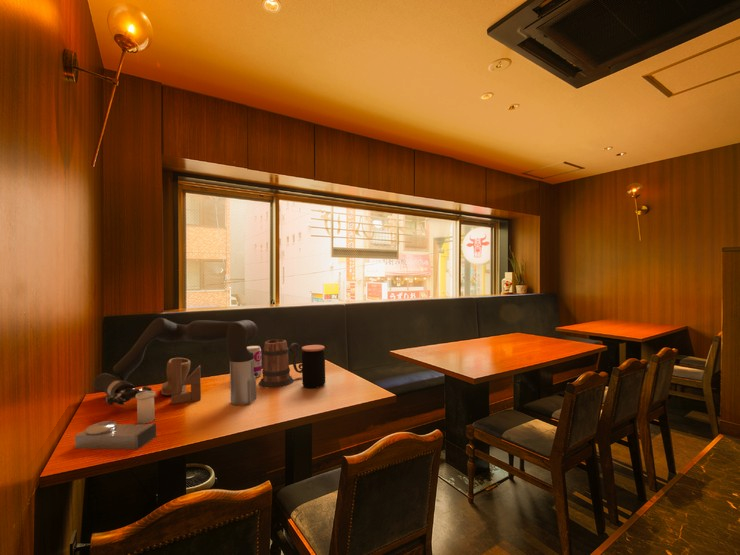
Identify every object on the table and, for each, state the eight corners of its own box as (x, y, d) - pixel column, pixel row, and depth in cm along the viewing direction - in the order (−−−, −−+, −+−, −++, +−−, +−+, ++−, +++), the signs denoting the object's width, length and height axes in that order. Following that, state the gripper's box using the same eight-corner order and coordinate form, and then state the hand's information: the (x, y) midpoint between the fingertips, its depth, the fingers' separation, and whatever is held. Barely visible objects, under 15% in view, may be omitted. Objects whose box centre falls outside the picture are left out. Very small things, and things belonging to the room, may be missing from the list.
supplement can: (265, 374, 184) (264, 346, 183) (253, 379, 176) (253, 349, 176) (253, 373, 187) (252, 345, 187) (241, 377, 179) (240, 348, 179)
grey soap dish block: (156, 436, 114) (155, 420, 114) (137, 449, 106) (137, 432, 106) (97, 436, 115) (97, 420, 115) (74, 448, 107) (74, 431, 107)
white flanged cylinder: (159, 417, 129) (159, 390, 129) (148, 424, 123) (147, 396, 123) (144, 417, 130) (143, 390, 130) (132, 424, 124) (131, 396, 124)
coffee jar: (330, 384, 166) (329, 346, 166) (315, 390, 157) (314, 350, 157) (312, 380, 172) (312, 343, 172) (297, 386, 163) (296, 348, 163)
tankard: (265, 390, 159) (264, 346, 158) (253, 381, 172) (252, 340, 172) (312, 380, 173) (311, 339, 173) (297, 372, 186) (296, 335, 186)
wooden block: (200, 400, 147) (199, 357, 147) (171, 404, 143) (170, 360, 142) (201, 397, 150) (200, 355, 150) (172, 401, 146) (171, 358, 146)
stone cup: (191, 394, 155) (190, 360, 155) (159, 399, 150) (158, 363, 150) (191, 384, 169) (190, 353, 168) (162, 388, 163) (161, 356, 163)
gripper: (99, 386, 137) (113, 394, 127) (140, 377, 149) (156, 384, 138) (100, 405, 137) (113, 414, 127) (141, 395, 149) (156, 403, 138)
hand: (135, 398), depth 133 cm, fingers open, 8 cm apart
